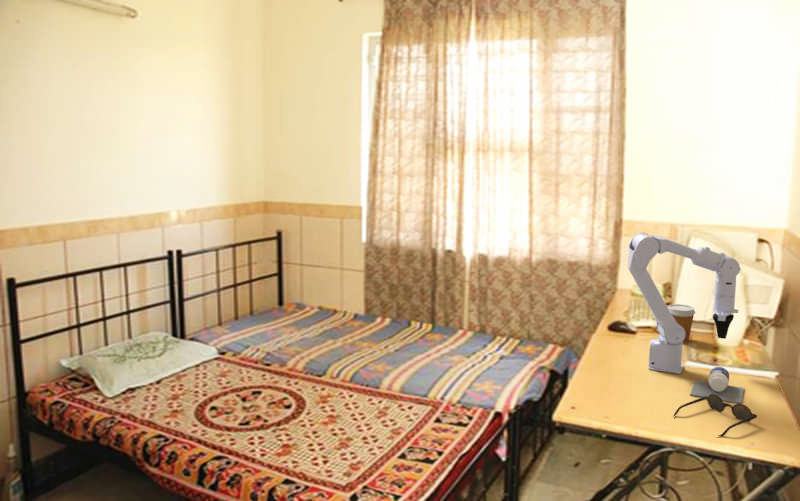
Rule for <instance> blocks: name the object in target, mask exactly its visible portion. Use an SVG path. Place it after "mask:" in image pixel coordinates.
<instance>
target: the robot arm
mask: <svg viewBox="0 0 800 501" xmlns="http://www.w3.org/2000/svg"><path fill="white" fill-rule="evenodd" d="M665 253H670V254H674V255H678V256H681V257H683V258H688V259H690V260H691V263H692V264H693V265H695V266H697V267H700V268H703V269H705V270H708V271H711V272H715V279H714V280H715V281H714V296H713V307H712V311H713V313H714V314H712V319H713V321H714V324H715V328H716V334H717V338H718V339H724V340H726V338H727V335H728V332H729V328H730V326H731V323H732V322H733V320H734V317H735V315H734V314H738V313H739V309H735V304H736V292H737V291H736V288H737V276H738V275H739V273H740V272H741V269H742V268H741V267H740V263H739V262H738V261H737V260H736V259H735V258H733V257H731V256H729V255H727V254H725V253H723V252H720V253H719V252H717V251H714V250H711V249H710V247H709V246H706V245H705V246H704V247H702V246H699V247H697V248H692V247H689V246H686V245H684V244H682V243H679V242H676V241H674V240H671V239H668V238H666V237H662V236H659V235H654V234H648V233H645V232H639V233H636V234H635V235H633V236H632V238H631V240H630V242H629V244H628V257H627V258H628V260H627V268H628V270H629V273H630V274H631V277H632V278H633V280H634V282H635V283H636V285H637V288H638V289H639V291H640V293H641V294H642V296H643V298H644V300H645V303H647V305H648V307H649V309H650V311H651V312H652V314H653V317H654V320H655V322H656V330H657V332H658V333H659V336H658V338H656V339H655V338H652V339H651V340H650V344H649V352H648V353H649V354H648V355H649V356H648V370H652V371H659V372H665V373H671V374H672V373H673V374H677V375H678V374H679V375H680V374H682V372H683V369H684V366H685V365H684V364H682V358H683V344H684V343H683V340H684V338H685V335H686V333H685V330H684V328H683V327H682V326H680V325H679V324H678V323H677V322H676V320H675V319H674V317H673V316H672V314H671V313H670V311H669V309H668V308H667V307H668V305H667V303H666V302H665V300H664V298H663V297H662V294H661V293H660V291H659V289H658V288H657V285H656V284H655V282H654V280H653V278H652V276H651V274H650V272H649V271H648V269H647V268H648V266H649V264H650V262H651V261H652V259H654V257H656V256H657V254H660V255H661V254H665Z"/></svg>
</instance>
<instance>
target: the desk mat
mask: <svg viewBox="0 0 800 501" xmlns="http://www.w3.org/2000/svg"><path fill="white" fill-rule="evenodd" d="M744 390H745V387H740V386H735V385H729V384H728V386H727V388H726V389H724V390H723V391H720V392H718V391H715V390H713V389H712V388H711V386H710V385H709V381H703V380H696V379H695V380H694V382H693V385H692V388H691V390H690V394H689V396H691V397H698V398H702V397H705V396H707V397H708V396H709V395H711V394H716V395H718V396H719V397H720V398H721V399H722V401H723V402H725V403H727V402H728V403H733V404H743V397H744Z"/></svg>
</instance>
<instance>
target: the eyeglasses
mask: <svg viewBox="0 0 800 501" xmlns="http://www.w3.org/2000/svg"><path fill="white" fill-rule="evenodd" d="M705 400H706V401H707V404H708V406H709V408H710V409H711V408H712V410H714V409H715V411H716V410H717V411H716V412H719V413H723V411H724V410H725V409H726V408H727V407H728V408H730V409H731V413H732V415H733V416H734V417H735V419H738V420H740V421H738V422H735V423H733V424H732V425H730V426H728V427H727V428H726V429H725V430H724V431H723V432H722V433H721V434H719V435H718V436H723V437H724V436H725V435H726V434H727V433H728V432H729V431H730V430H731V429H732V428H735V427H737V426H738V425H742V424H744V423H749V422H750V421H752V420H755V419H757V417H758V415H757V414H756V413H753V412H752V411H751V409H750V408H749V407H748V406H747V405H745V404H743V403H742V404H738V403H734V405H731V404H729V403H727V402H725V401H722V399H721V398H720V397H719V396H718V395H716V394H711V395H709V396H708V397H707V396H705V397H698V398H697V399H694V400H692V401H690V402H687V403H684V404H682V405H680V406H679V407H678V408H677V409H676V410H675V412H674V413H673V417H674V416H675V415H676V416H677V414H678V413H679V412H680V410H681V409H682V408H684V407H688V406H690V405H693V404H697V403H699V402H702V401H705ZM676 416H675V417H676Z"/></svg>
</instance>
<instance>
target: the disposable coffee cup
mask: <svg viewBox="0 0 800 501" xmlns="http://www.w3.org/2000/svg"><path fill="white" fill-rule="evenodd" d="M667 308H668V309H669V311H670V313H671V314H672V316H673V317H674V319H675V320H676V322H677V323H678V324H679V325H680V326H682V327H683V328H684V330H685V333H686V335H685V338H684V340H683V344H685V343H688V342H689V340H690V334H691V331H692V327H693V326H692V325H693V322H694V317H695V314H696V311H695V308H694V306H691V305H687V304H681V303H680V304H679V303H678V304H677V303H676V304H669V305H667Z"/></svg>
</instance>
